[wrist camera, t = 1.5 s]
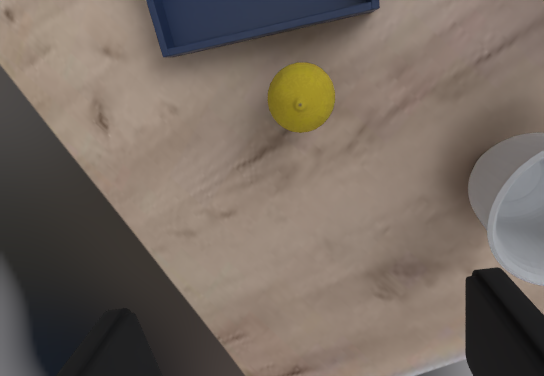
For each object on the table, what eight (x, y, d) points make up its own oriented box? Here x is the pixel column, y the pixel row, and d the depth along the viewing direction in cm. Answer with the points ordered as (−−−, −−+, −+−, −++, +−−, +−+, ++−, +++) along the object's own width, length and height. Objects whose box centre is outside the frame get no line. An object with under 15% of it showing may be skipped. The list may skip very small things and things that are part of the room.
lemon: (311, 48, 30) (314, 47, 23) (342, 101, 31) (353, 117, 24) (260, 83, 31) (247, 93, 24) (291, 133, 33) (288, 156, 26)
